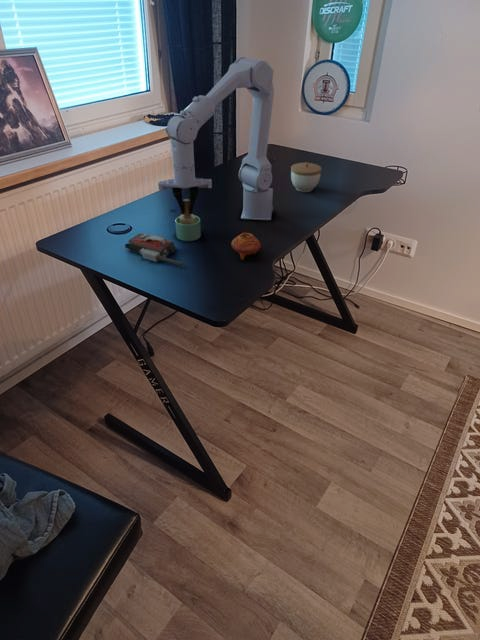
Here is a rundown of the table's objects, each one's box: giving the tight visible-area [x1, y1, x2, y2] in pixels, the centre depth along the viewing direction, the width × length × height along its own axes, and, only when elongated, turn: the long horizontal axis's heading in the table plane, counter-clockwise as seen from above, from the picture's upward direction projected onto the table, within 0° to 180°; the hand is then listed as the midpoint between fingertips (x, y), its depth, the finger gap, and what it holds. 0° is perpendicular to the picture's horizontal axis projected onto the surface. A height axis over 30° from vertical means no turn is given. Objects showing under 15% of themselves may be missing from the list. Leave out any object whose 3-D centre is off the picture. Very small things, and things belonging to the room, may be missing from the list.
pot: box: [230, 232, 262, 261], centre depth 123 cm, size 8×8×7 cm
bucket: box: [174, 215, 202, 242], centre depth 133 cm, size 7×7×5 cm
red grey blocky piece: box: [124, 233, 184, 266], centre depth 124 cm, size 9×4×20 cm
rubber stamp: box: [178, 198, 196, 225], centre depth 130 cm, size 5×5×8 cm
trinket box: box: [290, 161, 323, 193], centre depth 162 cm, size 11×11×9 cm
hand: (187, 212), depth 130 cm, fingers closed on rubber stamp
